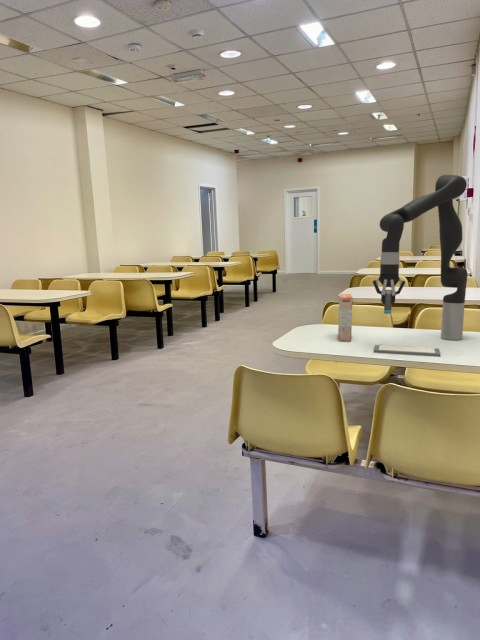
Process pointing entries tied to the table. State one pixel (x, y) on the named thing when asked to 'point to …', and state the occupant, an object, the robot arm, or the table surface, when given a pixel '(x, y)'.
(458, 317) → the robot arm
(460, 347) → the table surface
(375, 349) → the drawing board
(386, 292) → the marker
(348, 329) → the cracker box
